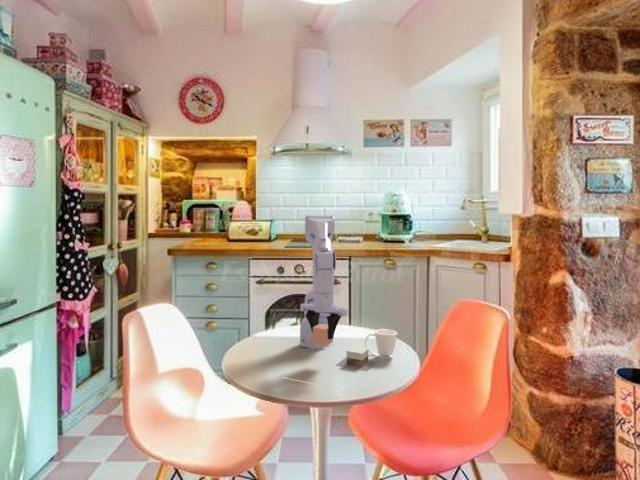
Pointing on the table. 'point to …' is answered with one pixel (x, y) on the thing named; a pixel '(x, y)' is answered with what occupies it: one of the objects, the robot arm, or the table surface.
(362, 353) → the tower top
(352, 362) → the tower base
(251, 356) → the table surface
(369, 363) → the coaster
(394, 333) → the cup
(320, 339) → the block
